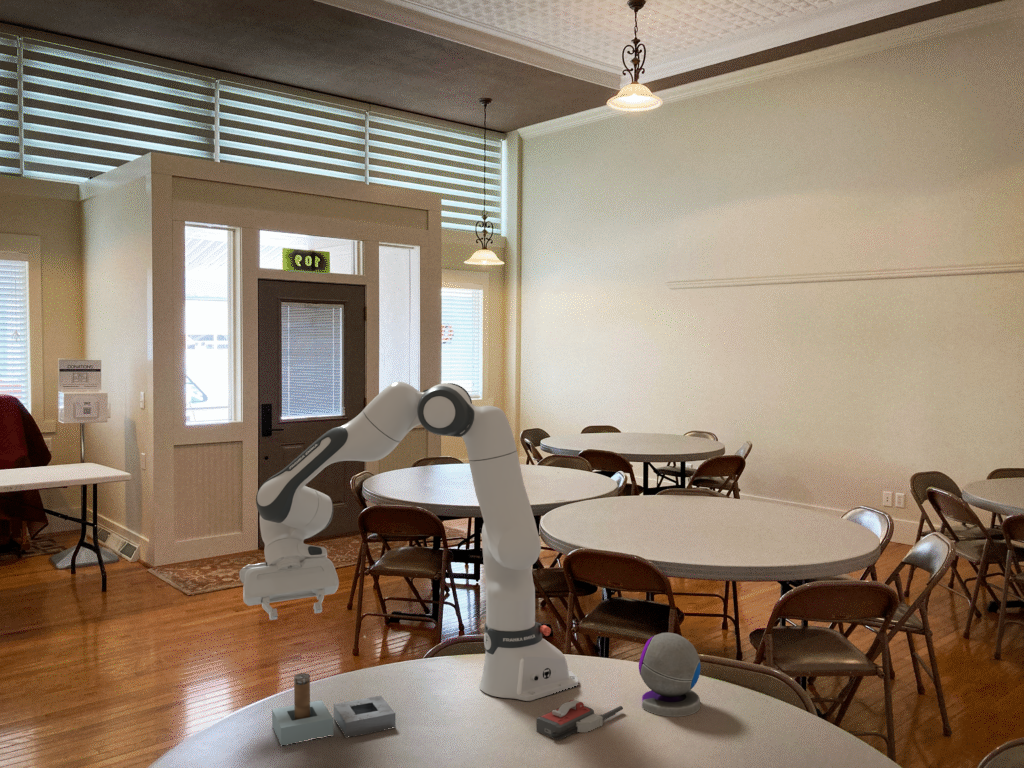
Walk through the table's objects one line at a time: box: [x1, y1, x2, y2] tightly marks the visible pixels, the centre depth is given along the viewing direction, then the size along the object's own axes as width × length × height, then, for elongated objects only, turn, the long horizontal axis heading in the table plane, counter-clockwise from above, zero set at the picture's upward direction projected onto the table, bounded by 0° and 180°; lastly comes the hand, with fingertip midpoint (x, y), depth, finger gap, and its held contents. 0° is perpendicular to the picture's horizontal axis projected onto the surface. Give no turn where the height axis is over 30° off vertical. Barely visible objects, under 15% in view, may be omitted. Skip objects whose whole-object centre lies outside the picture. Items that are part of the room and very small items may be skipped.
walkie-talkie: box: [536, 698, 624, 741], centre depth 166 cm, size 9×4×20 cm
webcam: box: [638, 632, 701, 717], centre depth 175 cm, size 13×13×15 cm
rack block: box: [271, 699, 334, 746], centre depth 163 cm, size 10×10×4 cm
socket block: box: [333, 695, 397, 738], centre depth 167 cm, size 10×10×3 cm
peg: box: [293, 672, 311, 720], centre depth 163 cm, size 3×3×11 cm
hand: (296, 615), depth 175 cm, fingers open, 8 cm apart
